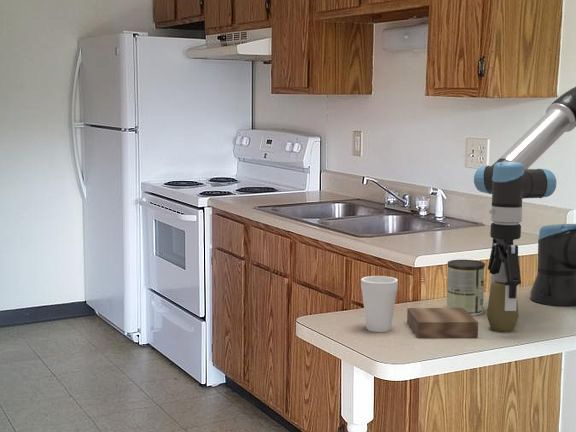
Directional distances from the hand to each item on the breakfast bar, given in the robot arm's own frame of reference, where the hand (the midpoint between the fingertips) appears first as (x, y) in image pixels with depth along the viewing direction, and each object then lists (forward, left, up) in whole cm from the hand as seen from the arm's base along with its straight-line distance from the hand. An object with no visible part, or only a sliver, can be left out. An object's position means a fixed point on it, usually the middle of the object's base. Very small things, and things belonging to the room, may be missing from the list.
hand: (502, 304), depth 206 cm
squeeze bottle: (0, 0, -7) cm, 7 cm away
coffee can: (+5, -19, -7) cm, 21 cm away
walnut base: (+16, 0, -7) cm, 17 cm away
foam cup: (+32, -1, -7) cm, 32 cm away
